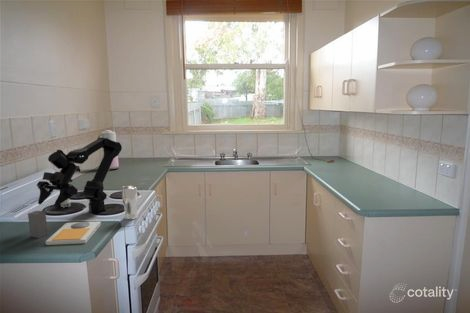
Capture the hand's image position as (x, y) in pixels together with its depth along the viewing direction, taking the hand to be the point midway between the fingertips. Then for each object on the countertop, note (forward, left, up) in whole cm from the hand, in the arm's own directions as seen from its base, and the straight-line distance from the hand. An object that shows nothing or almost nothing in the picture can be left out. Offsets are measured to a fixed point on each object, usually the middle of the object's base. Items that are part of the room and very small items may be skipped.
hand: (46, 205), depth 142 cm
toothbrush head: (-22, -38, -12) cm, 46 cm away
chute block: (+5, +2, -12) cm, 13 cm away
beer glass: (-32, +12, -12) cm, 36 cm away
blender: (-81, -103, -12) cm, 132 cm away
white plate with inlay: (-6, +12, -12) cm, 18 cm away
